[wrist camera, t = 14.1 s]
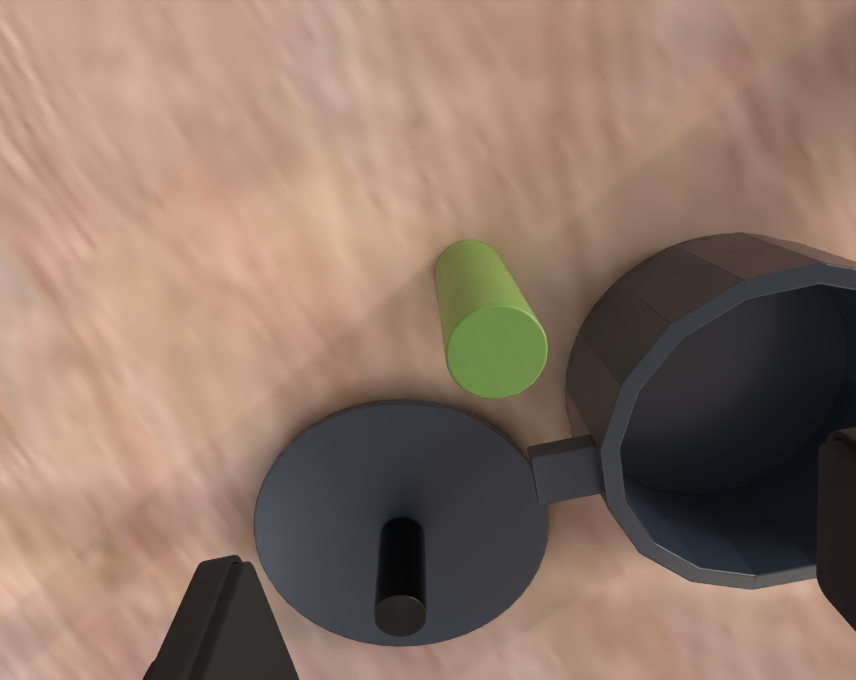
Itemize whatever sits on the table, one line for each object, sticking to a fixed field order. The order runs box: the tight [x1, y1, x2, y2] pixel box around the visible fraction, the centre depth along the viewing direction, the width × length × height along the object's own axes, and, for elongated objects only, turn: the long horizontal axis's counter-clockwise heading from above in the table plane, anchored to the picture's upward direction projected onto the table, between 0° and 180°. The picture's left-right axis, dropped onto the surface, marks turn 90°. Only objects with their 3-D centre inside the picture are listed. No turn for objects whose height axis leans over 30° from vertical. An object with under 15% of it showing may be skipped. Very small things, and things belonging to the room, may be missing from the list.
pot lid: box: [254, 399, 549, 646], centre depth 30 cm, size 16×16×7 cm
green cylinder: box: [435, 240, 548, 399], centre depth 23 cm, size 3×3×10 cm
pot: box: [527, 232, 856, 590], centre depth 27 cm, size 15×20×6 cm
